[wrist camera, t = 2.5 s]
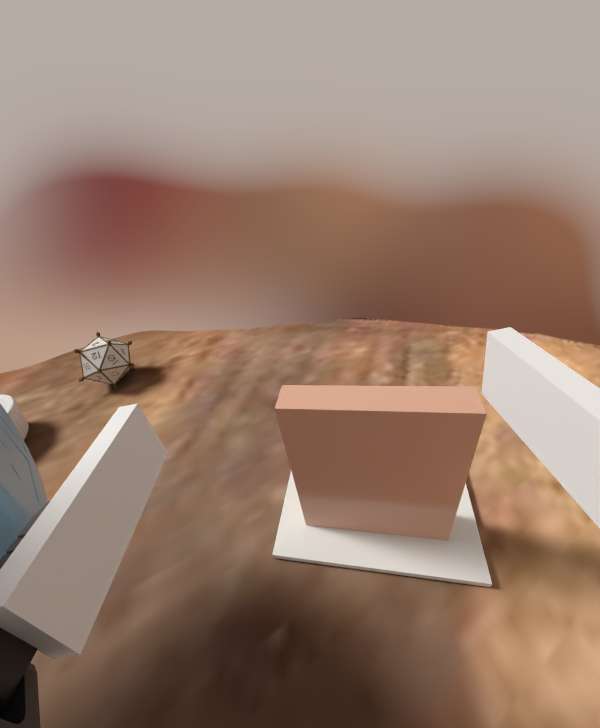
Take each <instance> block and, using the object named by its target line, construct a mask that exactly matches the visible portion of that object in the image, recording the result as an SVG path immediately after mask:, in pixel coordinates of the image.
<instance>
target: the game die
mask: <svg viewBox="0 0 600 728" xmlns="http://www.w3.org/2000/svg"><path fill="white" fill-rule="evenodd" d="M97 336H98V337H97V338H96V339H95V340H93V341H92V342H91V343H90V344H88V345H87V346H86V347H85V348H83V349H82V350H81V351H79V350H77V349H76V350H74V351H75V353H79V356H80V362H81V368H82V374H83V377H82V378H80V379H79V382H80V381H83V380H84V379H89V380H93V381H98V382H103V383H107V384H112V385H113V387H114V389H115V390H116V388H117V386H116V383H117V382H118V381H119V380H120V379H121V378H122V377H123V376H124V375H125V374H126V373H127V372H128V371H129V370H130V369H131V370H132V371H133V370H135V369H134V368H133V366H135V365H134V364H133V363H130V354H129V345H131V344H132V341H129V342H128V344H126V343H122V342H119V341H115V340H111V339H107V338H104V337H100V333H98V332H97Z"/></svg>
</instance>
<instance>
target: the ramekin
mask: <svg viewBox="0 0 600 728" xmlns="http://www.w3.org/2000/svg"><path fill="white" fill-rule="evenodd" d="M0 404H1V405H2V406H3V408H4V409H5V411H6V412H7V413H8V415H9V416H10V418H11V420H12V421H13V423H14V424H15V426H16V428H17V429H18V431H19V433H20V434H21V436H22V438H23V440H25V438H26V436H27V433H28V428H29V426H28V423H27V421H26V419H25V418H24V416H23V414H22V413H21V411H20V410H19V408H18V404H17V402H16V401H15V400H14V399H13V398H12V397H11V396H8V395H0Z"/></svg>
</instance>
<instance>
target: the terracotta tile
mask: <svg viewBox="0 0 600 728" xmlns="http://www.w3.org/2000/svg"><path fill="white" fill-rule="evenodd" d="M275 411H276V415H277V419H278V423H279V426H280V430H281V434H282V437H283V441H284V445H285V449H286V452H287V456H288V460H289V464H290V467H291V471H292V475H293V478H294V482H295V486H296V490H297V493H298V497H299V501H300V505H301V508H302V512H303V516H304V519H305V523H306V525H309V526H319V527H328V528H337V529H346V530H355V531H365V532H374V533H383V534H392V535H401V536H411V537H420V538H429V539H438V540H449V537H450V533H451V530H452V527H453V523H454V520H455V517H456V513H457V510H458V507H459V503H460V500H461V497H462V493H463V490H464V487H465V483H466V480H467V477H468V473H469V470H470V467H471V463H472V460H473V457H474V453H475V450H476V447H477V443H478V440H479V437H480V434H481V430H482V427H483V424H484V420H485V417H486V411H485V409H484V406H483V404H482V401H481V398H480V396H479V393H478V391H477V388H476V387H454V386H315V385H282V388H281V391H280V394H279V397H278V400H277V403H276V406H275Z"/></svg>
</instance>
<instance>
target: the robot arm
mask: <svg viewBox="0 0 600 728" xmlns="http://www.w3.org/2000/svg"><path fill="white" fill-rule="evenodd" d="M482 395H483V396H484V397H485V398H486V399H487V401H488V402H489V403H490V404H491V405H492V406H493V407H494V409H495V410H496V411H497V412H498V413H499V414H500V415H501V417H502V418H503V419H504V420H505V421H506V422H507V423H508V424H509V426H510V427H511V428H512V429H513V430H514V431H515V432H516V434H517V435H518V436H519V437H520V438H521V439H522V440H523V442H524V443H525V444H526V445H527V446H528V447H529V448H530V450H531V451H532V452H533V453H534V454H535V455H536V456H537V458H538V459H539V460H540V461H541V462H542V463H543V464H544V465H545V467H546V468H547V469H548V470H549V471H550V472H551V473H552V475H553V476H554V477H555V478H556V479H557V480H558V481H559V483H560V484H561V485H562V486H563V487H564V488H565V489H566V491H567V492H568V493H569V494H570V495H571V496H572V497H573V498H574V500H575V501H576V502H577V503H578V504H579V505H580V506H581V508H582V509H583V510H584V511H585V512H586V513H587V514H588V516H589V517H590V518H591V519H592V520H593V521H594V522H595V524H596V525H597V526H598V527H599V528H600V388H598V387H597V386H595V385H594V384H592V383H591V382H589V381H588V380H586V379H585V378H584V377H582V376H581V375H579V374H578V373H576V372H575V371H573V370H572V369H570V368H569V367H568V366H566V365H565V364H563V363H562V362H560V361H559V360H557V359H556V358H554V357H553V356H552V355H550V354H549V353H547V352H546V351H544V350H543V349H541V348H540V347H539V346H537V345H536V344H534V343H533V342H531V341H530V340H528V339H527V338H525V337H524V336H523V335H521V334H520V333H518V332H517V331H515V330H514V329H512V328H511V327H509V328H504V329H499V330H494V331H489V332H488V333H487V344H486V354H485V364H484V375H483V385H482ZM167 455H168V451H167V450H166V448H165V447H164V445H163V443H162V442H161V440H160V439H159V437H158V435H157V434H156V432H155V431H154V429H153V427H152V426H151V424H150V423H149V421H148V419H147V418H146V416H145V415H144V413H143V412H142V410H141V408H140V407H139V405H138V404H133V405H128V406H123V407H119V408H118V410H117V411H116V412H115V414H114V415H113V416H112V418H111V419H110V420H109V422H108V423H107V425H106V426H105V427H104V429H103V430H102V431H101V433H100V434H99V435H98V437H97V438H96V440H95V441H94V442H93V444H92V445H91V446H90V448H89V449H88V450H87V452H86V453H85V455H84V456H83V457H82V459H81V460H80V461H79V463H78V464H77V465H76V467H75V468H74V470H73V471H72V472H71V474H70V475H69V476H68V478H67V479H66V480H65V482H64V483H63V485H62V486H61V487H60V489H59V490H58V491H57V493H56V494H55V495H54V497H53V498H52V500H51V501H49V502H48V503H47V497H46V493H45V489H44V486H43V483H42V480H41V477H40V474H39V472H38V469H37V467H36V465H35V462H34V460H33V458H32V456H31V454H30V451H29V449H28V447H27V446H26V444H25V442H24V440H23V438H22V436H21V434H20V433H19V431H18V429H17V428H16V426H15V424H14V423H13V421H12V420H11V418H10V416H9V415H8V413H7V412H6V411H5V409H4V408H3V406H2V405H1V404H0V728H40V715H39V698H38V681H37V671H36V669H35V666H34V665H33V664H31V663H30V662H31V660H32V658H33V656H34V655H35V653H36V651H37V650H39V651H40V652H42V653H44V654H46V655H47V656H49V657H51V658H60V657H68V656H75V655H80V654H81V652H82V650H83V648H84V645H85V643H86V641H87V638H88V636H89V634H90V631H91V629H92V627H93V625H94V622H95V620H96V618H97V615H98V613H99V611H100V609H101V606H102V604H103V602H104V599H105V597H106V595H107V592H108V590H109V588H110V586H111V583H112V581H113V579H114V576H115V574H116V572H117V570H118V567H119V565H120V563H121V560H122V558H123V556H124V553H125V551H126V549H127V547H128V544H129V542H130V540H131V537H132V535H133V533H134V531H135V528H136V526H137V524H138V521H139V519H140V517H141V515H142V512H143V510H144V508H145V505H146V503H147V501H148V498H149V496H150V494H151V492H152V489H153V487H154V485H155V482H156V480H157V478H158V476H159V473H160V471H161V469H162V466H163V464H164V462H165V459H166V457H167Z"/></svg>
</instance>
